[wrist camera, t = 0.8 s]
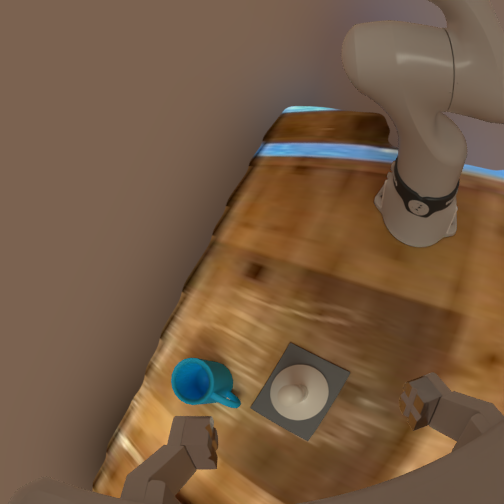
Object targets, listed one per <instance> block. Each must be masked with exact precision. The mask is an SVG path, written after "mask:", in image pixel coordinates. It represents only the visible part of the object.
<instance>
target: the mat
mask: <svg viewBox="0 0 504 504" xmlns="http://www.w3.org/2000/svg"><path fill="white" fill-rule="evenodd" d="M293 365H308V366H311V367H313V368H315V369H317V370H318V371H320V372H321V373H322V374H323V376H324V377H325V379H326V381H327V384H328V388H329V394H328V399H327V402H326V404H325V406H324V407H323V409H322V410H321V411H320V412H319V413H318V414H316V415H315V416H313V417H311V418H309V419H305V420H292V419H288V418H286V417H284V416H282V415H281V414H280V413H278V411H277V410H276V409H275V408H274V406H273V404H272V401H271V397H270V390H271V385H272V383H273V381H274V379H275V377H276V376H277V375H278V374H279V373H280V372H281V371H282V370H284V369H285V368H287V367H290V366H293ZM349 374H350V372H348V371H346V370H344V369H342V368H340V367H338V366H336V365H334V364H331V363H329V362H327V361H325V360H323V359H321V358H319V357H317V356H315V355H313V354H312V353H310V352H308V351H306V350H304V349H302V348H300V347H298V346H296V345H294V344H292V343H290V344H289V346H288V347H287V349H286V351H285V353H284V354H283V356H282V358H281V359H280V361H279V363H278V364H277V366H276V368H275V369H274V371H273V373H272V374H271V376H270V378H269V379H268V381H267V383H266V384H265V386H264V387H263V389H262V391H261V392H260V394H259V395H258V397H257V399H256V400H255V402H254V403H253V405H252V406H251V409H253V410H254V411H256V412H258V413H259V414H261V415H262V416H264V417H266V418H267V419H269V420H271V421H272V422H274V423H276V424H278V425H279V426H281V427H283V428H285V429H286V430H288V431H290V432H292V433H294V434H295V435H297V436H299V437H301V438H303V439H305V440H307V441H308V440H309V439H310V437H311V436H312V435H313V433H314V432H315V430H316V429H317V427H318V426H319V424H320V423H321V421H322V419H323V418H324V416H325V415H326V413H327V412H328V410H329V408H330V407H331V405H332V403H333V402H334V400H335V399H336V397H337V395H338V393H339V392H340V390H341V388H342V387H343V385H344V383H345V381H346V380H347V378H348V376H349Z"/></svg>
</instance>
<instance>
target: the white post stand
mask: <svg viewBox="0 0 504 504" xmlns="http://www.w3.org/2000/svg"><path fill="white" fill-rule="evenodd" d="M328 394H329V388H328V384H327V381H326V379H325V377H324V376H323V374H322V373H321V372H320V371H318V370H317V369H315V368H313V367H311V366H308V365H293V366H290V367H287V368H285V369H284V370H282V371H281V372H280V373H279V374H278V375H277V376H276V377H275V379H274V381H273V383H272V385H271V390H270V397H271V401H272V404H273V406H274V408H275V409H276V410H277V411H278V413H280V414H281V415H282V416H284V417H286V418H288V419H292V420H305V419H309V418H311V417H313V416H315V415H316V414H318V413H319V412H320V411H321V410H322V409H323V407H324V406H325V404H326V402H327V399H328Z"/></svg>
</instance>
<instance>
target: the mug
mask: <svg viewBox="0 0 504 504" xmlns="http://www.w3.org/2000/svg"><path fill="white" fill-rule="evenodd" d="M171 383H172V388H173V390H174V393H175V395H176V396H177V397H178V398H179V399H180V400H181V401H183V402H185V403H186V404H191V405H197V404H207V403H216V402H219V403H221V404H223V405H225V406H228V407H231V408H238V407H239V406H240V405H241V402H240V400H239V399H238V397H237V396H235V395H234V394H233V393H232V392H231V390H232V388H233V379H232V375H231V373H230V371H229V370H228V368H226V367H225V366H224V365H223V364H220V363H218V362H213V361H208V360H202V359H197V358H187V359H184V360H182V361H181V362H179V363H178V364H177V366H176V367H175V368H174V371H173V373H172V379H171ZM227 397H228V398H229V399H230V400H229V399H227Z"/></svg>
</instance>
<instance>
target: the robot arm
mask: <svg viewBox="0 0 504 504" xmlns="http://www.w3.org/2000/svg"><path fill="white" fill-rule="evenodd" d="M428 1H430V2H432V3H434V4H435V5H437V6H438V7H439V8H440V9H441V10H442V11H443V13H444V15H445V18H446V21H447V28H438V27H433V26H428V25H422V24H415V23H409V22H401V21H391V20H388V21H376V22H367V23H362V24H355V25H354V26H353V27H352V28H351V29H350V30H349V32H348V33H347V35H346V36H345V39H344V41H343V44H342V51H341V55H342V63H343V67H344V70H345V72H346V74H347V76H348V78H349V80H350V81H351V83H352V84H353V85H354V86H355V88H357V90H359V91H360V93H362V94H364V95H365V96H367V97H369V98H370V99H372V100H373V101H374V102H376V103H377V104H378V105H379V106H381V107H382V108H383V110H385V111H386V113H387V114H388V115H389V117H390V118H391V119H392V121H393V122H394V125H395V127H396V129H397V133H398V157H397V158H396V161H393V163H392V165H391V171H393V172H392V173H391V172H388V174H387V178H388V179H387V180H386V181H385V184H384V185H383V187H382V188H381V189H380V191H379V192H378V194H377V195H376V197H375V199H374V204H375V206H376V207H377V208H378V209H379V211H380V212H381V213H382V216H383V219H384V222H385V225H386V227H387V228H388V230H389V231H390V233H391V234H392V235H393V236H394V237H395V238H397V239H398V240H399V241H401V242H403V243H405V244H407V245H410V246H414V247H427V246H430V245H433V244H435V243H436V242H438V241H439V240H440V239H442V238H443V237H448V236H452V235H454V234H455V233H456V230H457V209H458V207H457V206H456V194H457V191H458V186H459V177H460V175H461V172H462V169H463V166H464V164H465V160H466V158H467V144H466V140H465V138H464V136H463V134H462V132H461V131H460V129H459V128H458V127H457V125H456V124H455V123H454V122H453V121H452V120H451V119H449V118H448V117H447V116H446V115H444V114H443V113H442V112H446V111H447V112H451V113H456V114H461V115H464V116H468V117H472V118H476V119H479V120H483V121H486V122H490V123H499V124H504V31H503V29H502V27H501V25H500V23H499V21H498V19H497V17H496V14H495V12H494V9H493V7H492V4H491V1H490V0H428ZM381 197H382V198H381ZM451 224H452V225H451ZM403 390H404V392H403V394H402V395H401V396H400V400H399V407H400V410H401V412H402V414H403V415H405V416H407V417H408V419H407V422H408V423H409V425H410V427H411V428H412V430H413V431H414V430H417V429H420V428H422V427H425V426H427V425H429V426H430V427H432V428H433V429H435V430H437V431H439V432H441V433H442V434H444V435H446V436H448V437H450V438H452V439H453V440H455V441H457V443H456V445H455V446H454V448H453V450H452V452H451V453H449V454H448V455H446V456H444V457H442V458H440V459H438V460H436V461H434V462H431V463H429V464H427V465H425V466H423V467H421V468H418V469H416V470H414V471H411V472H409V473H406V474H404V475H401V476H399V477H396V478H394V479H391V480H388V481H385V482H382V483H380V484H377V485H373V486H370V487H367V488H364V489H360V490H357V491H353V492H350V493H346V494H342V495H338V496H334V497H329V498H325V499H320V500H315V501H310V502H304V503H298V504H504V416H503V415H502V414H501V412H500V411H499V410H498V409H497V408H496V407H495V406H494V405H493V404H492V403H489V402H486V401H483V400H480V399H476V398H473V397H470V396H467V395H464V394H461V393H458V392H455V391H454V392H451V390H450V389H449V388H448V387H447V386H446V385H445V384H444V382H443V381H442V380H441V379H440V378H439V377H438V376H437V374H436V373H433V372H432V373H430V374H427V375H424V376H421V377H419V378H416V379H413V380H410V381H407V382H405V384H404V385H403ZM213 425H214V421H213V418H212V417H211V416H175V417H174V419H173V422H172V427H171V431H170V435H169V439H168V444H167V445H163V446H162V447H161V448H160V449H159V450H157V451H156V452H155V453H154V454H153V455H151V456H150V457H149V458H148V459H147V460H145V461H144V462H143V463H142V464H141V465H139V466H138V467H137V468H136V469H134V470H133V471H132V472H131V473H129V474H128V475H127V477H126V481H125V484H124V487H123V491H122V494H121V498H115V497H111V496H107V495H103V494H99V493H96V492H92V491H88V490H85V489H82V488H79V487H75V486H72V485H69V484H67V483H64V482H61V481H59V480H56V479H53V478H50V477H42V478H39V479H37V480H35V481H32V482H30V483H28V484H26V485H24V486H22V487H20V488H19V489H18V490H17V491H16V492H15V494H14V495H13V496H12V497H11V499H10V501H9V503H8V504H181V503H180V502H179V501H178V499H177V498H176V497H175V495H176V494H177V493H178V492H179V491H180V489H181V488H182V487H183V486H184V485H185V484H186V482H187V481H188V480H189V479H190V478H191V476H192V475H193V474H194V473H195V472H196V469H217V454H216V450H217V449H218V436H217V431H216V428H214V427H213Z"/></svg>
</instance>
